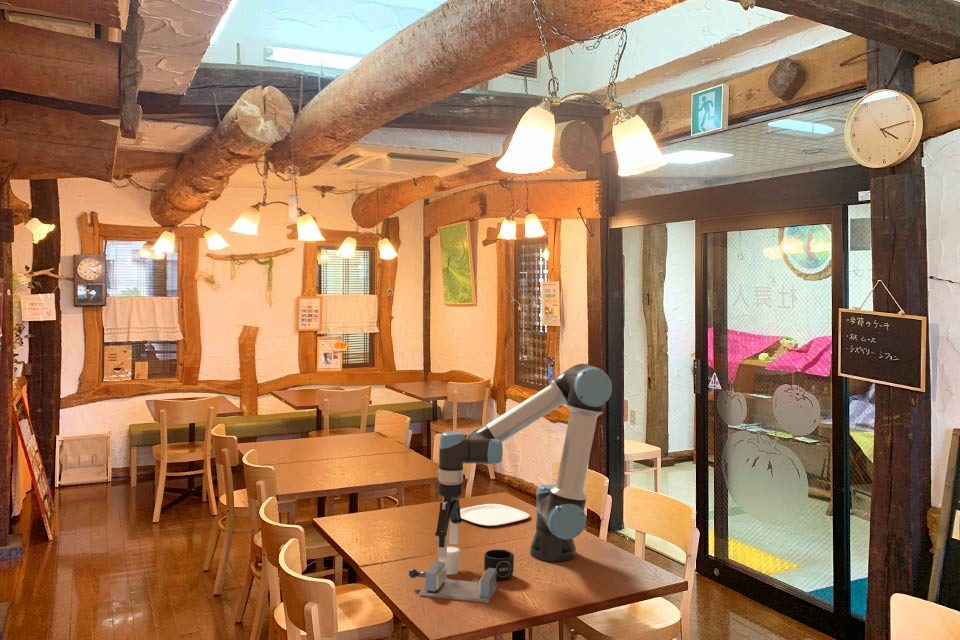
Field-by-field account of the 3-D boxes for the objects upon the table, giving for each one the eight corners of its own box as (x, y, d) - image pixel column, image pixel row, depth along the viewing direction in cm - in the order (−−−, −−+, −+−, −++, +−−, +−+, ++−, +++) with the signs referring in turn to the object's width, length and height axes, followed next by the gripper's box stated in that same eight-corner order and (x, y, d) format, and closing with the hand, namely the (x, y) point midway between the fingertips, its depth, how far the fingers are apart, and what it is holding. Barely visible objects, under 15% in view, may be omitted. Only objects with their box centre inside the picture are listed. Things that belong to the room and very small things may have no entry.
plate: (495, 505, 321) (495, 501, 321) (537, 519, 301) (537, 515, 301) (445, 515, 305) (445, 511, 304) (487, 531, 285) (487, 527, 285)
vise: (496, 587, 230) (497, 567, 230) (487, 603, 218) (488, 581, 218) (431, 580, 234) (431, 561, 234) (419, 595, 223) (419, 574, 222)
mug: (517, 580, 236) (518, 557, 236) (489, 583, 233) (489, 560, 233) (504, 567, 247) (504, 545, 247) (477, 570, 244) (477, 547, 244)
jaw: (446, 579, 232) (447, 562, 232) (437, 591, 222) (437, 574, 222) (414, 575, 235) (414, 559, 234) (403, 588, 225) (403, 570, 225)
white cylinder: (457, 576, 238) (457, 553, 238) (435, 574, 240) (435, 551, 240) (462, 568, 245) (462, 546, 245) (441, 566, 247) (441, 545, 246)
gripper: (449, 472, 255) (447, 537, 255) (427, 490, 230) (424, 561, 231) (471, 474, 253) (469, 539, 253) (451, 492, 229) (448, 564, 229)
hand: (447, 550), depth 242 cm, fingers open, 13 cm apart
